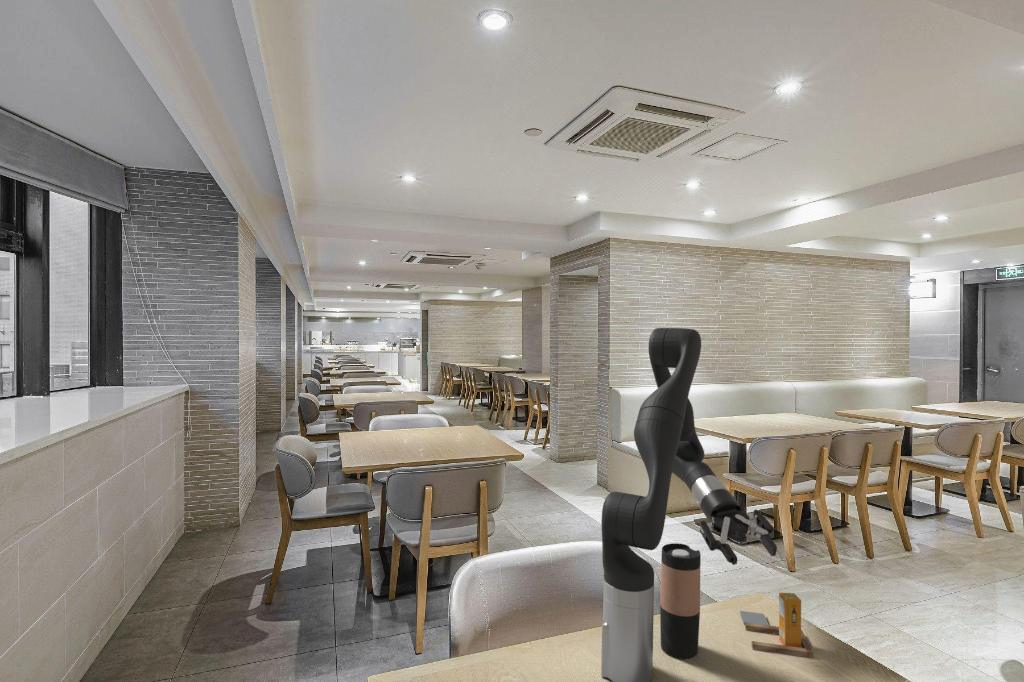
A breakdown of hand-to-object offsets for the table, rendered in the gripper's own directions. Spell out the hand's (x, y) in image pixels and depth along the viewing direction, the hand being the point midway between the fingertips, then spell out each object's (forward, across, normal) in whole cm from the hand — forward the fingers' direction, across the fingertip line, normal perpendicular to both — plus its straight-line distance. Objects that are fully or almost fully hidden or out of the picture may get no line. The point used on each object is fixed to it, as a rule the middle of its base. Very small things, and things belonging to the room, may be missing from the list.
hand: (755, 557), depth 109 cm
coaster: (0, +2, +21) cm, 21 cm away
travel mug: (+6, -19, +14) cm, 24 cm away
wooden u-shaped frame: (+7, +2, +17) cm, 19 cm away
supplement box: (+9, +5, +18) cm, 20 cm away
